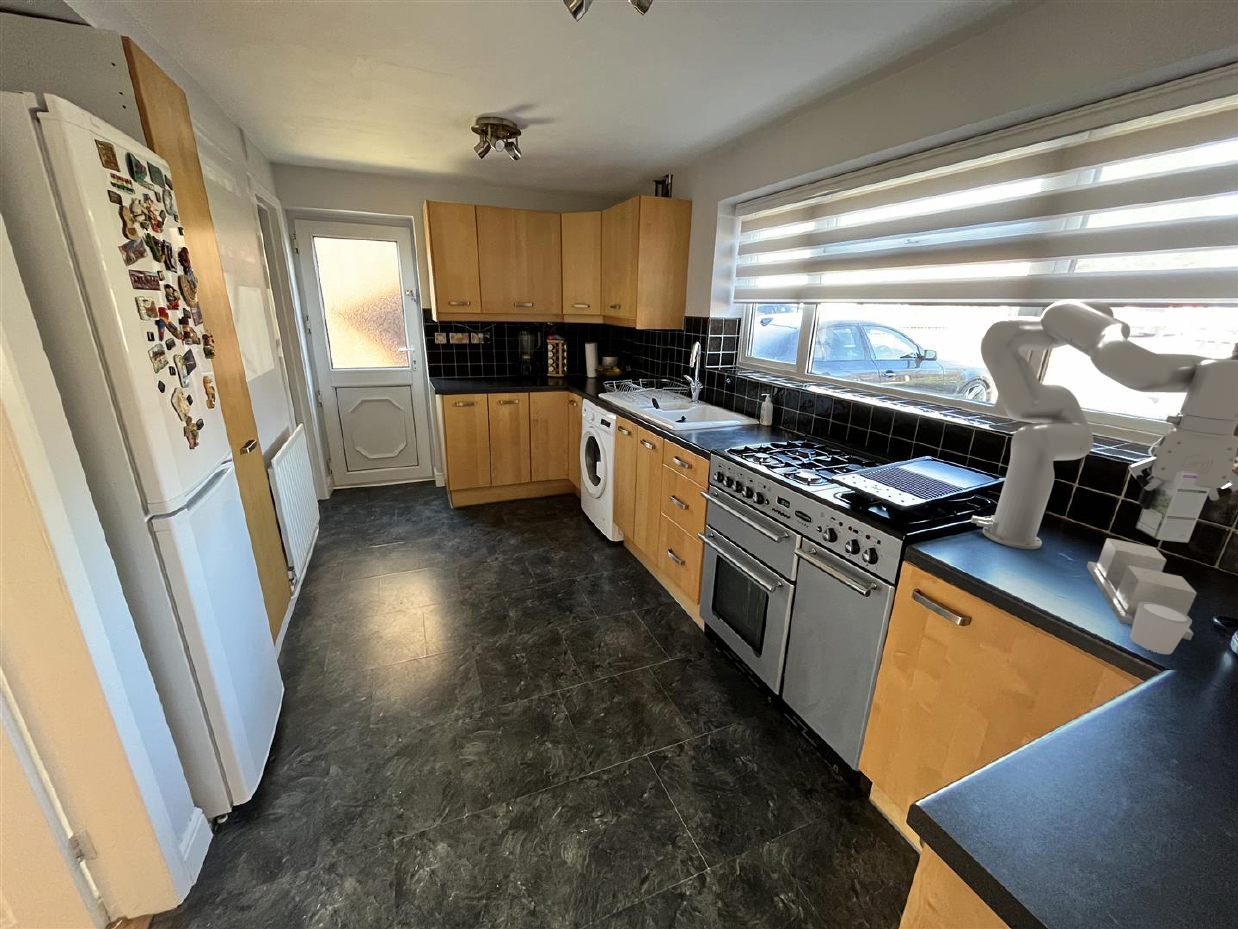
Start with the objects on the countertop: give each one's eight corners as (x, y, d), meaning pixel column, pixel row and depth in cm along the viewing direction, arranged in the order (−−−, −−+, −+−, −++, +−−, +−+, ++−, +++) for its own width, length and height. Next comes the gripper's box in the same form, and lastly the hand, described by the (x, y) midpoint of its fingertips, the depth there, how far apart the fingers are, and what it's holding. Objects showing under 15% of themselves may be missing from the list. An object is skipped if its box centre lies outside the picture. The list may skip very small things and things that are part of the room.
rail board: (1119, 622, 99) (1135, 583, 96) (1086, 566, 120) (1099, 533, 117) (1190, 640, 94) (1209, 599, 91) (1143, 579, 115) (1157, 545, 113)
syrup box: (1189, 543, 99) (1219, 474, 94) (1154, 539, 100) (1182, 470, 95) (1165, 531, 104) (1193, 465, 100) (1132, 527, 105) (1158, 462, 101)
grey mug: (1162, 637, 95) (1176, 605, 92) (1187, 660, 88) (1203, 627, 86) (1116, 629, 97) (1129, 597, 94) (1138, 651, 90) (1152, 618, 88)
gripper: (1149, 422, 96) (1117, 508, 102) (1284, 436, 88) (1242, 529, 93) (1136, 415, 102) (1107, 497, 108) (1261, 428, 94) (1223, 516, 99)
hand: (1170, 511), depth 100 cm, fingers closed on syrup box, 7 cm apart
